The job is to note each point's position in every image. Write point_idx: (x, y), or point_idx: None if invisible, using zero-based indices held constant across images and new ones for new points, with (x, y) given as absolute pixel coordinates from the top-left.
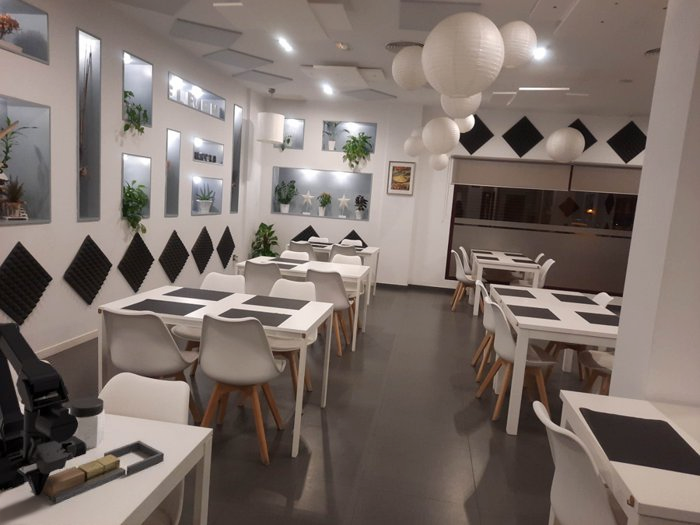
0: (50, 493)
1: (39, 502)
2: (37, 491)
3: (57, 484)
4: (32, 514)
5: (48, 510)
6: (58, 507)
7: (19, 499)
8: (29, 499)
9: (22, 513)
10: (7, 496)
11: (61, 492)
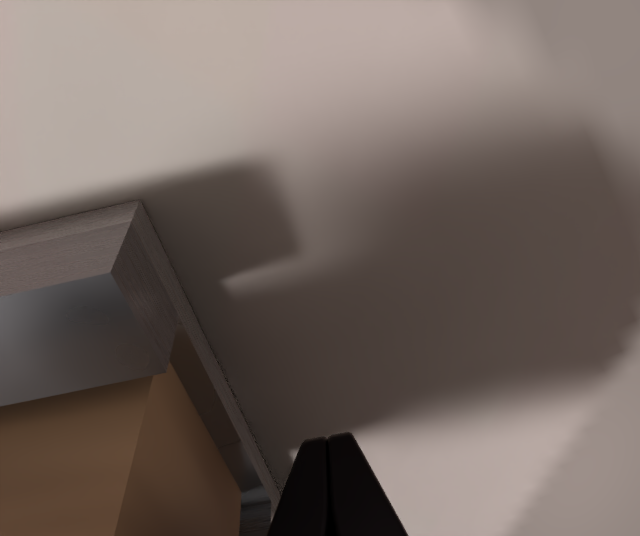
0: (180, 424)
1: (305, 359)
2: (350, 489)
3: (51, 526)
4: (448, 163)
5: (247, 145)
6: (108, 147)
7: (442, 468)
8: (373, 438)
9: (526, 248)
10: (496, 528)
11: (29, 378)
